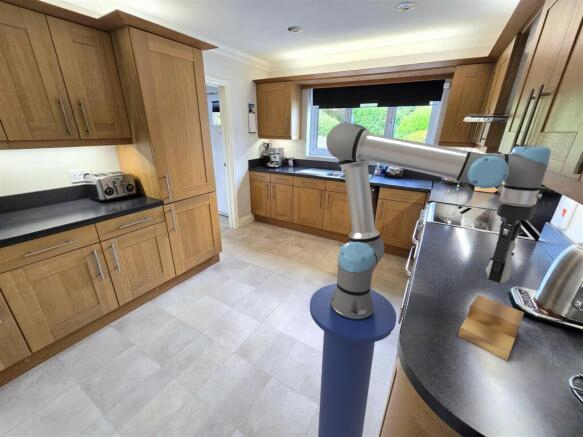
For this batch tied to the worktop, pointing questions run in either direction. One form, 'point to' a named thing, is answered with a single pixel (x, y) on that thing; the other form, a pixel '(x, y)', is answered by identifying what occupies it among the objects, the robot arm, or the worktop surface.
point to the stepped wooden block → (491, 326)
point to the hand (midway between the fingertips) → (496, 277)
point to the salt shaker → (507, 267)
